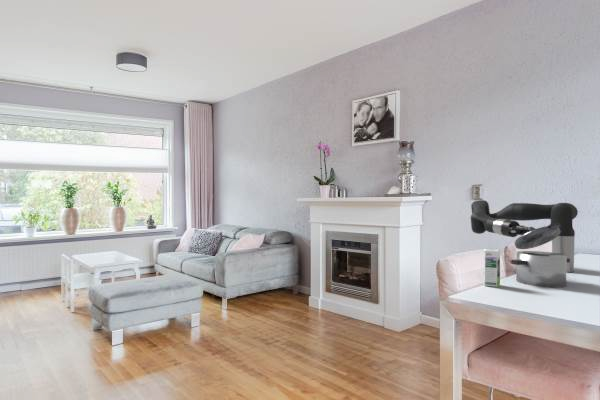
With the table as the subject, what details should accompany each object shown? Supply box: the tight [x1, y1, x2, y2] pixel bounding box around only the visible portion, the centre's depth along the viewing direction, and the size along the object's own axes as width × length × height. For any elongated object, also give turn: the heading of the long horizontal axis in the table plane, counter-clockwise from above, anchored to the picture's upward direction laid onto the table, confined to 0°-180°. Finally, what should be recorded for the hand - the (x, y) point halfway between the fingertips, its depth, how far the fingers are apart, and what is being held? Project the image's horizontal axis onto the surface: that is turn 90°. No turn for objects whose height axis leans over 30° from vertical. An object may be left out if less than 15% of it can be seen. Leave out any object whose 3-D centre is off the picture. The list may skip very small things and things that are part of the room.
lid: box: [514, 222, 561, 250], centre depth 171 cm, size 20×18×1 cm
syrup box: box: [483, 248, 501, 288], centre depth 163 cm, size 6×6×14 cm
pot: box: [510, 250, 570, 288], centre depth 169 cm, size 18×28×12 cm, turn 107°
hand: (540, 233), depth 171 cm, fingers closed
